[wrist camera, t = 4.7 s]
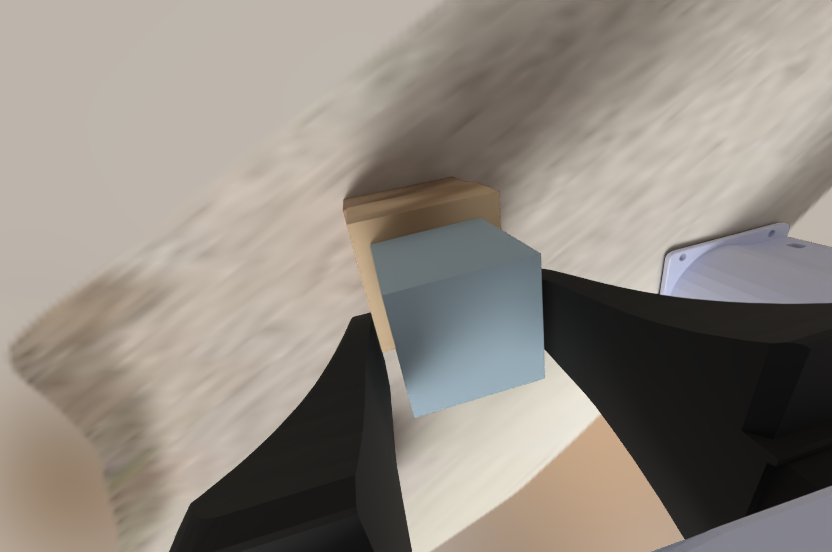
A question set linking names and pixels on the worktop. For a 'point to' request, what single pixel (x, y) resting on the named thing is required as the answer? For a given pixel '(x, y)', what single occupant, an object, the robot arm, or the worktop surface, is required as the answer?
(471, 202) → the slab upper
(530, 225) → the worktop surface
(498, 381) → the cube
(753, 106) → the worktop surface
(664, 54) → the worktop surface
